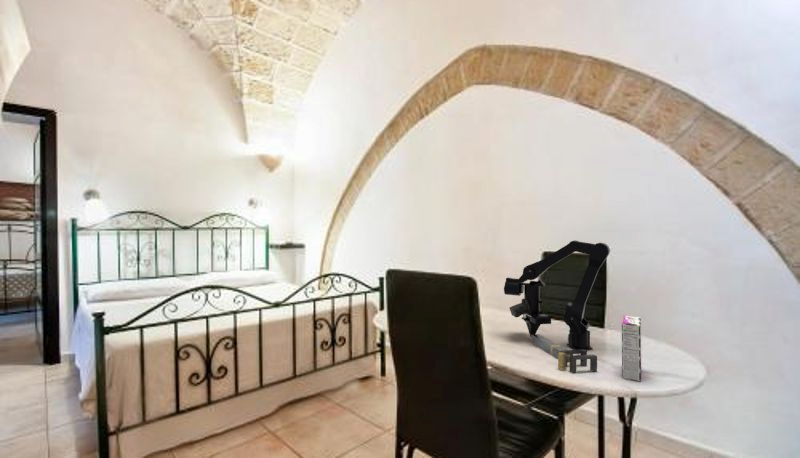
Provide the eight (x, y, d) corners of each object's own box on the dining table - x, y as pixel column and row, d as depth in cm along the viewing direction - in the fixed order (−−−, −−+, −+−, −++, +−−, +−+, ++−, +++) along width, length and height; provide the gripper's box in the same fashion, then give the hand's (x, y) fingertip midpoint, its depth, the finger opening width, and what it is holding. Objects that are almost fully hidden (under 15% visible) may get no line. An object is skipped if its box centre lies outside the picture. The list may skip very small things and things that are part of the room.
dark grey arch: (593, 369, 121) (593, 354, 121) (597, 371, 119) (597, 356, 119) (569, 371, 120) (569, 355, 119) (572, 373, 118) (572, 357, 118)
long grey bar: (531, 342, 149) (531, 334, 149) (539, 342, 149) (539, 334, 149) (563, 362, 127) (563, 353, 127) (572, 362, 127) (572, 352, 127)
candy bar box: (622, 366, 123) (622, 314, 123) (641, 370, 121) (641, 316, 120) (620, 378, 114) (621, 322, 114) (641, 382, 111) (641, 324, 111)
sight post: (568, 368, 122) (568, 352, 122) (571, 369, 121) (571, 353, 121) (558, 368, 122) (558, 352, 122) (560, 370, 120) (561, 354, 120)
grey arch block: (583, 364, 126) (583, 349, 126) (586, 365, 124) (586, 350, 124) (560, 365, 124) (560, 350, 124) (563, 367, 123) (563, 352, 123)
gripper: (502, 293, 160) (502, 331, 160) (523, 302, 141) (523, 345, 141) (528, 292, 161) (528, 330, 161) (552, 301, 143) (552, 343, 143)
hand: (531, 337), depth 152 cm, fingers closed
